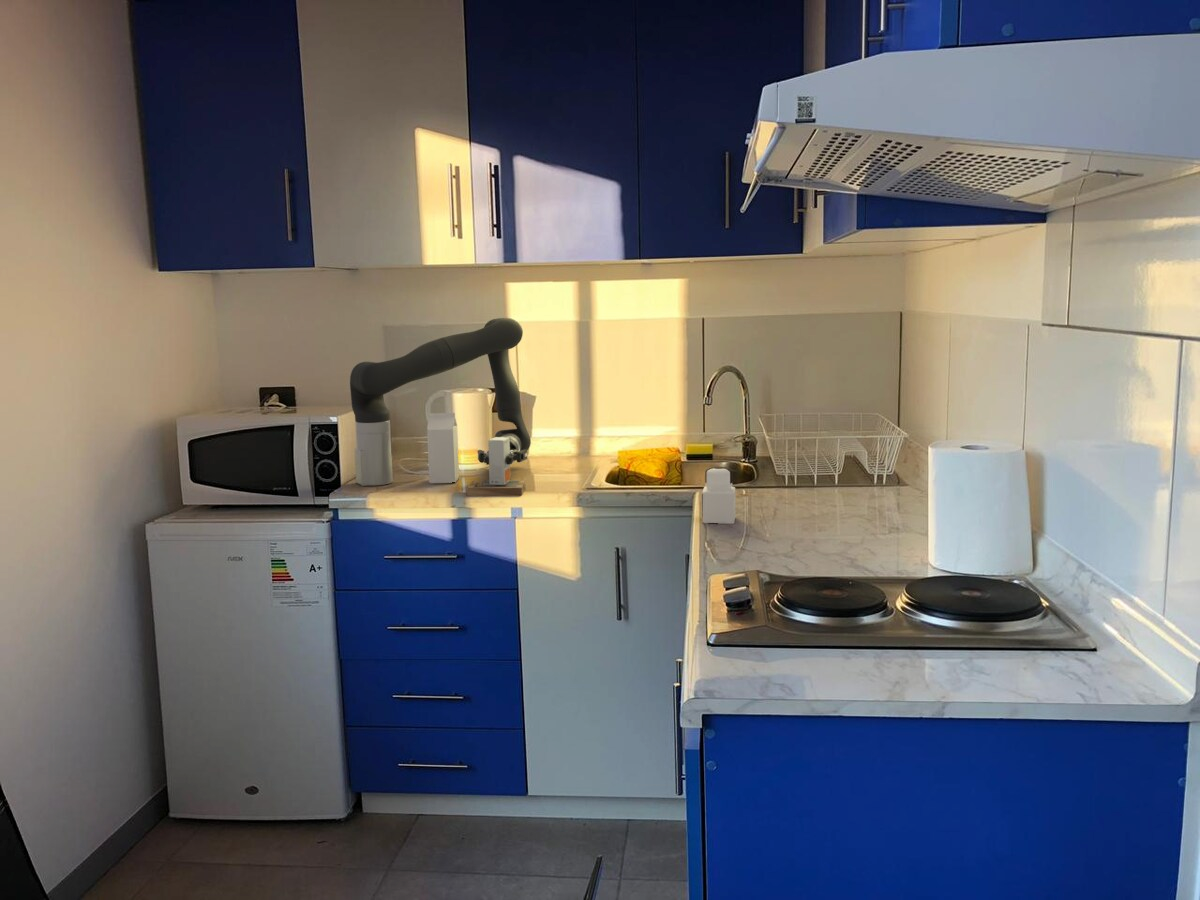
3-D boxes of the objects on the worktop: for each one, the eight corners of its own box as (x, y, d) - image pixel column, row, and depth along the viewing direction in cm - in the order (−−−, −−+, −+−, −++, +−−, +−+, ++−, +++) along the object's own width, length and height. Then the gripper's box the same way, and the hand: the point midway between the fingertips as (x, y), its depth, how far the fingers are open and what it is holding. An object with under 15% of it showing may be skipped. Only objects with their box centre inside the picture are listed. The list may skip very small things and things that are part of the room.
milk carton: (455, 483, 286) (452, 414, 283) (429, 484, 286) (426, 414, 283) (459, 478, 293) (456, 411, 290) (433, 479, 293) (431, 411, 290)
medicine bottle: (703, 516, 240) (703, 465, 238) (735, 517, 239) (735, 465, 237) (701, 523, 233) (701, 470, 232) (734, 524, 232) (734, 470, 230)
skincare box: (504, 485, 276) (503, 440, 274) (489, 485, 277) (487, 440, 275) (511, 481, 282) (509, 436, 280) (495, 480, 283) (494, 436, 281)
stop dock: (478, 482, 287) (477, 475, 287) (529, 482, 287) (528, 474, 286) (467, 496, 269) (466, 488, 268) (521, 495, 268) (521, 487, 268)
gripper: (479, 437, 292) (470, 446, 275) (530, 436, 292) (524, 446, 275) (480, 463, 293) (471, 475, 277) (531, 463, 293) (525, 474, 276)
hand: (497, 460), depth 276 cm, fingers closed on skincare box, 5 cm apart
